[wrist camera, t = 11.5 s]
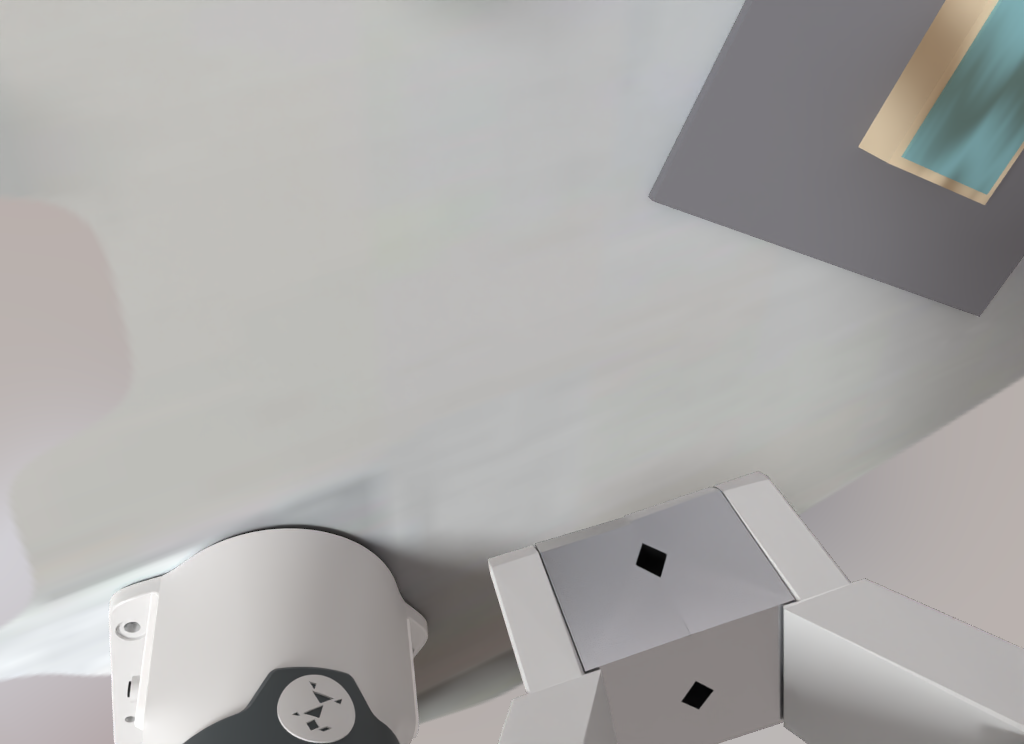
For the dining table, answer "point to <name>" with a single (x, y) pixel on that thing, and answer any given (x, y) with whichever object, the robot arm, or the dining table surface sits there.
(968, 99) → the birch tile
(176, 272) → the dining table surface
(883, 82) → the rubber mat
